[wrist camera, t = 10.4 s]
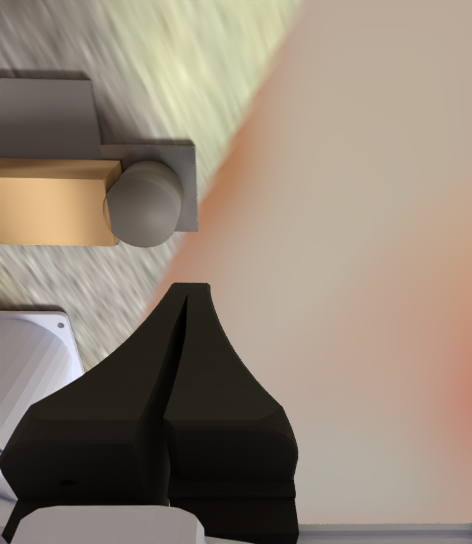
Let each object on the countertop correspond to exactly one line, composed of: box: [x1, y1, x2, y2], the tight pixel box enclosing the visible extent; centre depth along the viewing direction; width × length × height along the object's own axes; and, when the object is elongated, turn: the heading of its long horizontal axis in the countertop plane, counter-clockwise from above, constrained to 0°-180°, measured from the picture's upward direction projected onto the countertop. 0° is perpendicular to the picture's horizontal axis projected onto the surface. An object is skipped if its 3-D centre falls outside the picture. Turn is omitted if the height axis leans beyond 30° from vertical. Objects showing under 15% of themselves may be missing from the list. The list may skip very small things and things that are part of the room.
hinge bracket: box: [100, 143, 198, 232], centre depth 20 cm, size 5×5×1 cm
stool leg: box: [0, 158, 184, 248], centre depth 18 cm, size 16×4×3 cm, turn 88°
